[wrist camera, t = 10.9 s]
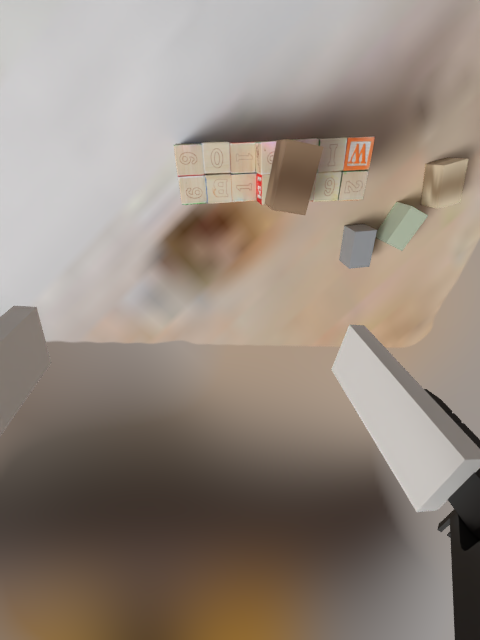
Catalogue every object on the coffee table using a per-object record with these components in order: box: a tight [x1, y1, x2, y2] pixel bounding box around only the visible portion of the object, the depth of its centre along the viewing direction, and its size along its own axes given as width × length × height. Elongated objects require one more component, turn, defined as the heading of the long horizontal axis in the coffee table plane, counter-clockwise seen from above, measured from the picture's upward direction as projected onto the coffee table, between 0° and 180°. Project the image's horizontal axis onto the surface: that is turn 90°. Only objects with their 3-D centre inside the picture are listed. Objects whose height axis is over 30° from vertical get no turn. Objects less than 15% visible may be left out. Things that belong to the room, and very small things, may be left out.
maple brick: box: [421, 158, 468, 209], centre depth 42 cm, size 6×4×4 cm, turn 14°
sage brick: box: [376, 202, 428, 251], centre depth 45 cm, size 6×4×4 cm, turn 156°
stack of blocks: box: [174, 136, 375, 205], centre depth 35 cm, size 21×6×12 cm, turn 91°
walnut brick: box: [265, 139, 324, 215], centre depth 28 cm, size 6×4×4 cm, turn 171°
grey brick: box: [339, 224, 377, 268], centre depth 46 cm, size 6×4×4 cm, turn 3°
